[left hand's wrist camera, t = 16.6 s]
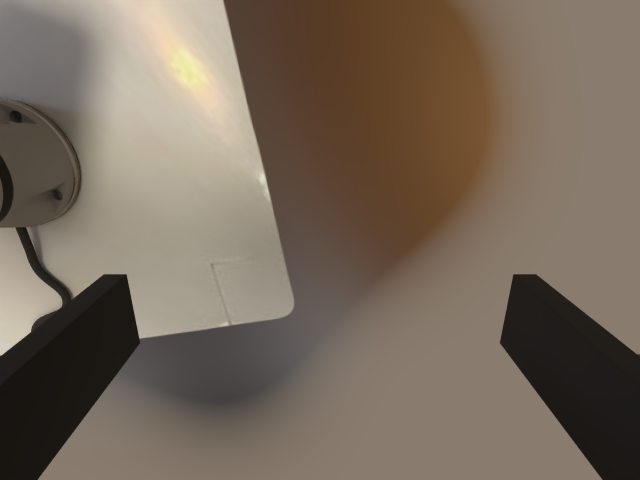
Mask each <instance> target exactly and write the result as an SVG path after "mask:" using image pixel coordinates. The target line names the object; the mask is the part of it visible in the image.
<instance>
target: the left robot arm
mask: <svg viewBox="0 0 640 480" xmlns="http://www.w3.org/2000/svg"><path fill="white" fill-rule="evenodd" d="M79 187H80V168H79V163H78V159H77V156H76V154H75V151H74V149H73V147H72V145H71V143H70V142H69V140H68V139H67V137H66V136H65V134H64V133H63V132H62V130H61V129H60V128H59V127H58V126H57V125H56V124H55V123H54V122H53V121H52V120H51V119H49V118H48V117H47V116H46V115H44V114H43V113H41V112H40V111H38V110H36V109H35V108H33V107H30V106H28V105H26V104H23V103H20V102H17V101H13V100H6V99H0V228H2V227H15V228H16V230H17V233H18V235H19V237H20V240H21V242H22V245H23V247H24V250H25V252H26V255H27V258H28V261H29V263H30V265H31V267H32V269H33V270H34V272H35V273H36V274H37V275H38V277H39V278H41V279H42V280H43V281H44V282H45V283H46V284H48V285H49V286H50V287H52V288H53V289H54V290H55V291H56V292H58V294H59V295H60V296H61V298H62V302H63V304H62V307H61V308H60V309H59V310H57V311H55V312H53V313H50V314H47V315H45V316H43V317H41V318H39V319H38V320H36V321H35V323H34V324H33V326H32V329H31V333H29V334H28V335H27V336H26V337H24V338H23V339H22V340H21V341H19V342H18V343H17V344H16V345H14V346H13V347H12V348H11V349H9V350H8V351H7V352H5V353H4V354H3V355H2V356H0V480H38V478H39V477H40V476H41V474H42V473H43V472H44V470H45V469H46V468H47V466H48V465H49V464H50V462H51V461H52V460H53V458H54V457H55V456H56V454H57V453H58V452H59V450H60V449H61V448H62V446H63V445H64V444H65V442H66V441H67V440H68V438H69V437H70V436H71V434H72V433H73V432H74V430H75V429H76V428H77V426H78V425H79V424H80V422H81V421H82V420H83V418H84V417H85V416H86V414H87V413H88V412H89V410H90V409H91V408H92V406H93V405H94V404H95V402H96V401H97V400H98V398H99V397H100V396H101V394H102V393H103V392H104V390H105V389H106V388H107V386H108V385H109V384H110V382H111V381H112V380H113V378H114V377H115V376H116V374H117V373H118V372H119V370H120V369H121V368H122V366H123V365H124V364H125V362H126V361H127V360H128V358H129V357H130V356H131V354H132V353H133V352H134V350H135V349H136V348H137V346H138V345H139V344H140V340H139V335H138V330H137V325H136V320H135V315H134V310H133V305H132V300H131V295H130V289H129V284H128V279H127V274H104V275H103V276H101V277H100V278H99V279H98V280H96V281H95V282H94V283H93V284H91V285H90V286H89V287H87V288H86V289H85V290H84V291H82V292H81V293H80V294H79V295H77V296H76V297H75V298H74V299H72V300H71V298H70V295H69V293H68V292H67V290H66V289H65V288H64V287H63V286H62V285H61V284H60V283H58V282H57V281H56V280H54V279H53V278H52V277H51V276H49V275H48V274H47V273H46V272H45V271H44V269H43V268H42V267H41V265H40V263H39V261H38V259H37V256H36V253H35V250H34V247H33V244H32V242H31V239H30V237H29V234H28V232H27V229H26V227H30V226H36V225H40V224H44V223H47V222H49V221H51V220H54V219H56V218H58V217H59V216H61V215H63V214H64V213H65V212H66V211H67V210H68V209H69V208H70V207H71V206H72V204H73V203H74V201H75V199H76V197H77V195H78V192H79ZM500 344H501V345H502V346H503V348H504V349H505V350H506V352H507V353H508V354H509V356H510V357H511V358H512V360H513V361H514V362H515V364H516V365H517V366H518V368H519V369H520V370H521V372H522V373H523V374H524V376H525V377H526V378H527V380H528V381H529V382H530V384H531V385H532V386H533V388H534V389H535V390H536V392H537V393H538V394H539V396H540V397H541V398H542V400H543V401H544V402H545V404H546V405H547V406H548V408H549V409H550V410H551V412H552V413H553V414H554V416H555V417H556V418H557V420H558V421H559V422H560V424H561V425H562V426H563V428H564V429H565V430H566V432H567V433H568V434H569V436H570V437H571V438H572V440H573V441H574V442H575V444H576V445H577V446H578V448H579V449H580V450H581V452H582V453H583V454H584V456H585V457H586V458H587V460H588V461H589V462H590V464H591V465H592V466H593V468H594V469H595V470H596V472H597V473H598V474H599V476H600V477H601V478H602V480H640V354H639V355H637V354H636V353H634V352H633V351H632V350H631V349H629V348H628V347H627V346H626V345H624V344H623V343H622V342H620V341H619V340H618V339H617V338H616V337H614V336H613V335H612V334H610V333H609V332H608V331H607V330H605V329H604V328H603V327H602V326H600V325H599V324H598V323H597V322H595V321H594V320H593V319H592V318H590V317H589V316H588V315H586V314H585V313H584V312H583V311H582V310H580V309H579V308H578V307H576V306H575V305H574V304H573V303H571V302H570V301H569V300H568V299H566V298H565V297H564V296H563V295H561V294H560V293H559V292H558V291H556V290H555V289H554V288H552V287H551V286H550V285H549V284H547V283H546V282H545V281H544V280H542V279H541V278H540V277H539V276H537V275H536V274H514V275H513V279H512V284H511V290H510V295H509V300H508V305H507V310H506V315H505V320H504V325H503V330H502V335H501V340H500Z"/></svg>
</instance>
